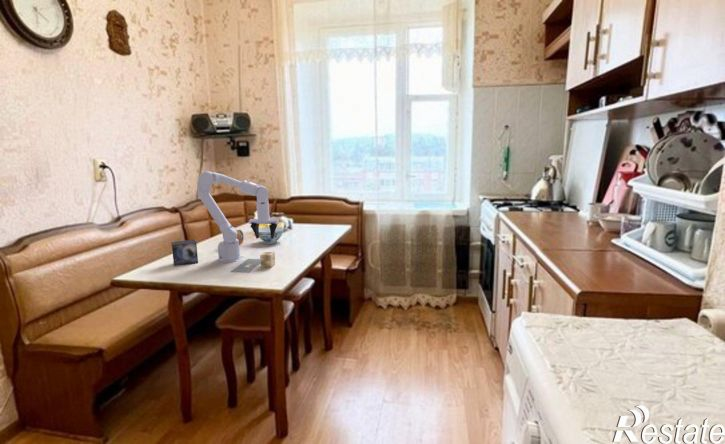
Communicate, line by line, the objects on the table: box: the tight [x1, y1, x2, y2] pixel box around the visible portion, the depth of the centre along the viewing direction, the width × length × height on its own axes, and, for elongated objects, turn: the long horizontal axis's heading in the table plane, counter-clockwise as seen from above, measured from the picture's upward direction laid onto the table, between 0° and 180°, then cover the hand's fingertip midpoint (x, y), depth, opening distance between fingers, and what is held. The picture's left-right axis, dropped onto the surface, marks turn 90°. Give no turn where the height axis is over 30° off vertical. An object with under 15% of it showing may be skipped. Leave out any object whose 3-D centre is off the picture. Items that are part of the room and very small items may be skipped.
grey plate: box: [229, 258, 261, 274], centre depth 184 cm, size 9×20×1 cm, turn 173°
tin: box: [236, 229, 244, 246], centre depth 219 cm, size 15×3×8 cm, turn 168°
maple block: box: [259, 251, 276, 269], centre depth 182 cm, size 5×5×6 cm
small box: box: [171, 239, 199, 267], centre depth 189 cm, size 11×6×10 cm, turn 117°
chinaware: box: [258, 225, 284, 245], centre depth 226 cm, size 15×15×8 cm
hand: (265, 238), depth 197 cm, fingers open, 7 cm apart
